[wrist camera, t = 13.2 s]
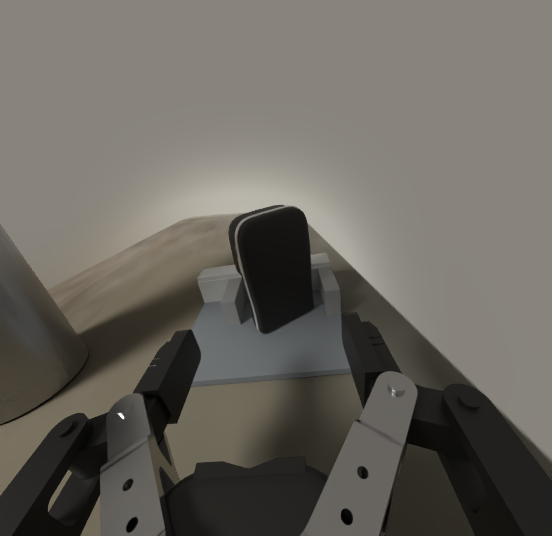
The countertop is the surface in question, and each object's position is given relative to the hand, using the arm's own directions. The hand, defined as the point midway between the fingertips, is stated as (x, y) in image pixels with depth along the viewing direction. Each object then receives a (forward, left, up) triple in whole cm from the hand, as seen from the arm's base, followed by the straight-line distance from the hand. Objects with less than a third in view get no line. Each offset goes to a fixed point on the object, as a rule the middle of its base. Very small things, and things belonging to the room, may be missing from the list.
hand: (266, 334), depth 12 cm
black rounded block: (-6, +9, -7) cm, 13 cm away
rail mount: (-7, +8, -8) cm, 13 cm away
